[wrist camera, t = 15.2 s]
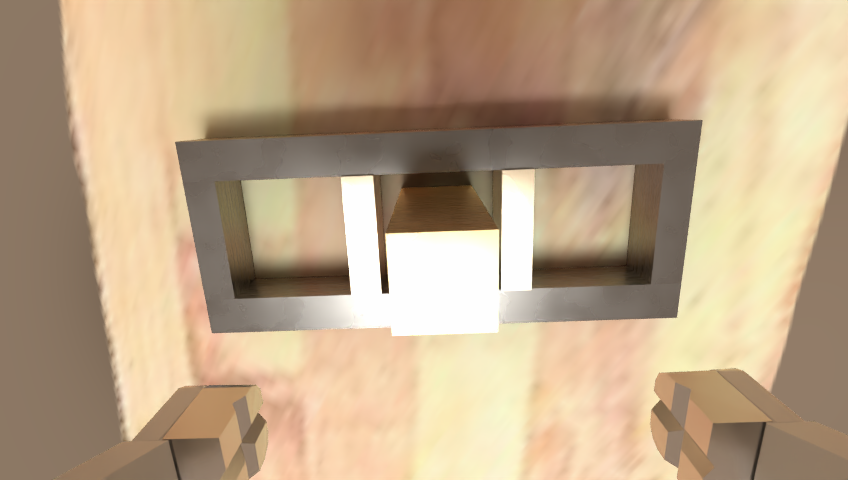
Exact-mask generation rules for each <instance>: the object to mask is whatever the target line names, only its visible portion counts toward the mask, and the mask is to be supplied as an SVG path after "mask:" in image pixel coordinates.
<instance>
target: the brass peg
mask: <svg viewBox="0 0 848 480" xmlns="http://www.w3.org/2000/svg"><path fill="white" fill-rule="evenodd" d="M386 248H387V263H388V278H389V293H390V308H391V323H392V336H399V335H430V334H460V333H491V332H498V299H499V229H498V227H497V226H496V224H495V222H494V221H493V219H492V218H491V216H490V214H489V213H488V211H487V209H486V208H485V206H484V205H483V203H482V201H481V200H480V198H479V197H478V195H477V193H476V192H475V190H474V189H473V187H472V185H467V186H441V187H415V188H401V191H400V194H399V197H398V200H397V203H396V205H395V208H394V211H393V214H392V217H391V220H390V223H389V225H388V228H387V231H386Z"/></svg>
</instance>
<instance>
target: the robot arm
mask: <svg viewBox="0 0 848 480" xmlns="http://www.w3.org/2000/svg"><path fill="white" fill-rule="evenodd" d="M654 391H655V393H656V394H657V396H658V397H659V398H660V401H659V402H658V403H657V404H656V405H655V406H654V407H653V409H652V410H651V422H650V425H651V430H652V436H653V440H654V442H655V444H656V447H657V449H658V451H659V452H660V454H661V455H662V457H663V458H664V459H665V460H666V461H668V462H669V463H671V464H673V465H674V466H676V467H677V468H678V474H677V479H678V480H848V435H846V434H844V433H841V432H839V431H836V430H834V429H832V428H829V427H827V426H824V425H822V424H819V423H817V422H814V421H804V420H803V419H802V418H800V417H799V416H798V415H797V414H796V413H794V412H793V411H792V410H791V409H789V408H788V407H787V406H786V405H784V404H783V403H782V402H781V401H780V400H778V399H777V398H776V397H775V396H773V395H772V394H771V393H770V392H769V391H767V390H766V389H765V388H764V387H763V386H761V385H760V384H759V383H758V382H757V381H755V380H754V379H753V378H752V377H750V376H749V375H748V374H747V373H746V372H744V371H742V370H739V369H736V368H732V369H717V370H709V371H688V372H667V373H659V374H658V376H657V378H656V380H655V387H654ZM262 404H263V399H262V395H261V390H260V388H259V387H258V386H257V385H209V386H206V385H201V386H184V387H181V388H179V389H178V390H177V391H176V392H175V393H174V394H173V395H172V396H171V398H170V399H169V400H168V401H167V402H166V403H165V404H164V405H163V407H162V408H161V409H160V410H159V411H158V412H157V413H156V414H155V415H154V417H153V418H152V419H151V420H150V421H149V422H148V423H147V424H146V425H145V427H144V428H143V429H142V430H141V431H140V432H139V433H138V434H137V436H136V437H135V438H134V439H133V440H132V441H124V442H121V443H119V444H118V445H116V446H114V447H112V448H110V449H108V450H106V451H105V452H103V453H101V454H99V455H97V456H95V457H94V458H91V459H90V460H88V461H86V462H84V463H82V464H80V465H78V466H77V467H75V468H73V469H71V470H69V471H67V472H65V473H64V474H62V475H60V476H58V477H56V478H54V479H52V480H249V479H250V478H251V477H252V476H253V475H255V474H256V473H257V472H259V471H260V469H261V466H262V464H263V462H264V460H265V456H266V451H267V446H268V428H267V422H266V420H265V419H264V418H263V417H262V416H261V415H260V414H259V413H258V411H259V410H260V408H261V406H262Z"/></svg>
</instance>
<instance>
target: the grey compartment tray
mask: <svg viewBox="0 0 848 480" xmlns="http://www.w3.org/2000/svg"><path fill="white" fill-rule="evenodd" d="M701 127H702V120H672V119H668V120H644V121H620V122H596V123H571V124H547V125H523V126H499V127H475V128H451V129H427V130H403V131H379V132H355V133H330V134H306V135H282V136H258V137H234V138H210V139H198V140H189V141H179V142H175V144H176V149H177V154H178V159H179V164H180V170H181V175H182V180H183V185H184V190H185V196H186V201H187V206H188V211H189V216H190V221H191V227H192V232H193V237H194V242H195V247H196V253H197V258H198V263H199V268H200V273H201V278H202V284H203V289H204V294H205V299H206V304H207V310H208V315H209V320H210V325H211V330H212V333H232V332H261V331H291V330H321V329H351V328H380V327H392V323H391V308H390V293H389V278H388V274H387V270H386V256H385V241H384V226H383V212H382V197H381V182H380V175H387V174H412V173H437V172H462V171H487V170H493V221H494V222H495V224H496V226H497V227H498V229H499V299H498V324H500V323H529V322H559V321H589V320H619V319H648V318H677V312H678V304H679V296H680V289H681V281H682V273H683V266H684V258H685V250H686V243H687V235H688V227H689V219H690V212H691V204H692V196H693V189H694V181H695V173H696V166H697V158H698V150H699V143H700V135H701ZM613 165H636V166H635V177H634V188H633V199H632V209H631V220H630V231H629V242H628V253H627V264H626V266H605V267H577V268H549V269H532V255H533V221H534V187H535V169H538V168H563V167H588V166H613ZM336 176H341V187H342V197H343V208H344V219H345V230H346V241H347V251H348V262H349V273H350V276H325V277H297V278H269V279H256V278H255V272H254V265H253V259H252V252H251V246H250V240H249V233H248V227H247V221H246V214H245V208H244V201H243V195H242V189H241V182H240V180H261V179H286V178H311V177H336Z"/></svg>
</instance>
